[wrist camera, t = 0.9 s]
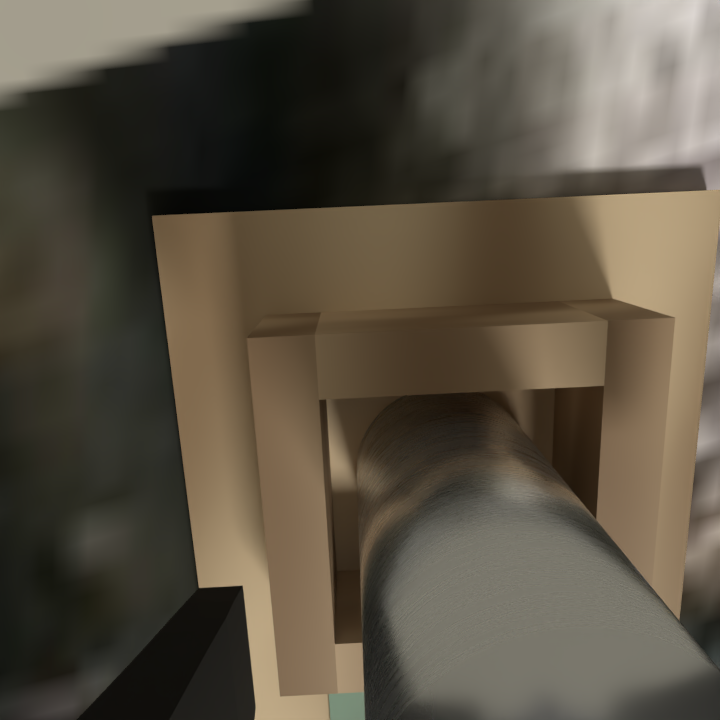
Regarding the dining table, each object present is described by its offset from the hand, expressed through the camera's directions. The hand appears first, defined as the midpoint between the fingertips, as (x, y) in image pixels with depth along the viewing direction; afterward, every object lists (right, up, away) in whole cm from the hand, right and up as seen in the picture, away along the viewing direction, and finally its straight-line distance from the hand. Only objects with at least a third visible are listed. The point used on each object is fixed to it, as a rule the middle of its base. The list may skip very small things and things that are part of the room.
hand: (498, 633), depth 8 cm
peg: (0, +1, +5) cm, 6 cm away
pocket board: (0, -1, +7) cm, 7 cm away
